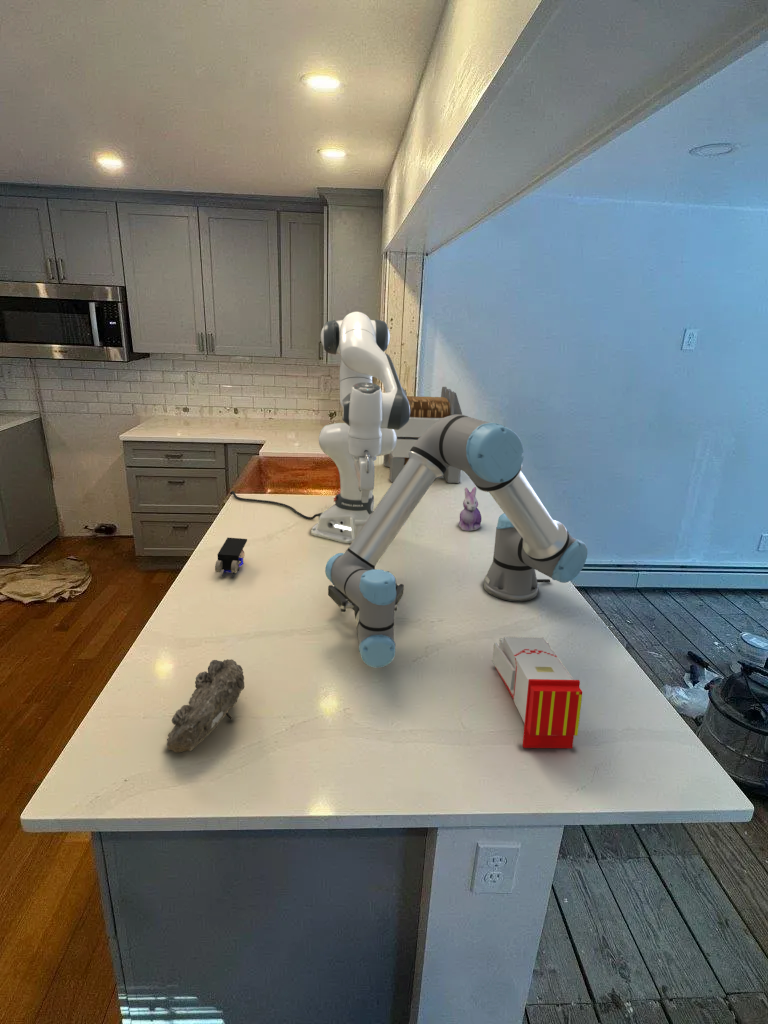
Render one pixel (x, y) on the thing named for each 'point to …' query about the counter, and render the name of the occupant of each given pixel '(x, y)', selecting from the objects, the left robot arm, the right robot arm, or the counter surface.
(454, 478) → the transformer
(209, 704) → the fossil
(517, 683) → the toy
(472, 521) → the figurine
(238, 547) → the figurine character
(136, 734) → the counter surface
